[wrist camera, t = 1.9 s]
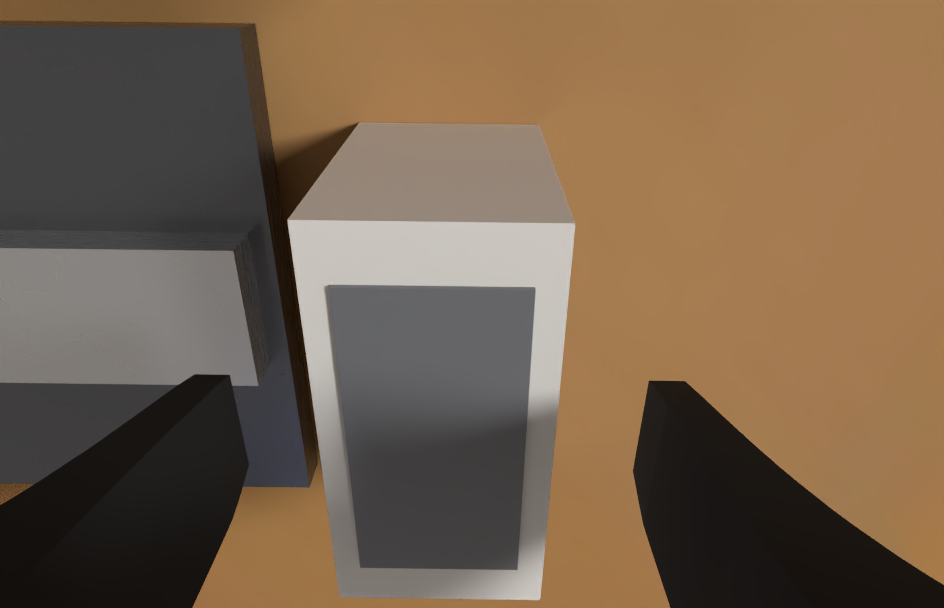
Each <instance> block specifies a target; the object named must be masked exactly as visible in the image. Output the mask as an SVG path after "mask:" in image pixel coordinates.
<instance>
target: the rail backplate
mask: <svg viewBox="0 0 944 608" xmlns="http://www.w3.org/2000/svg"><path fill="white" fill-rule="evenodd" d="M194 374H210V375H230V378H231V383H232V387H233V392H234V397H235V401H236V406H237V411H238V415H239V420H240V425H241V429H242V434H243V439H244V443H245V448H246V453H247V457H248V462H249V467H248V470H247V474H246V477H245V481H244V484H243V486H249V487H310V485H311V482H312V479H313V475H314V472H315V469H316V466H317V463H318V462H317V455H316V448H315V441H314V434H313V427H312V420H311V413H310V406H309V399H308V392H307V385H306V378H305V371H304V364H303V357H302V350H301V343H300V336H299V329H298V322H297V315H296V308H295V301H294V294H293V287H292V280H291V273H290V266H289V259H288V252H287V245H286V238H285V230H284V223H283V216H282V209H281V202H280V195H279V188H278V181H277V174H276V167H275V160H274V153H273V146H272V139H271V132H270V125H269V118H268V111H267V104H266V97H265V90H264V83H263V76H262V69H261V62H260V55H259V48H258V41H257V34H256V27H255V24H242V23H152V22H61V21H0V483H25V484H36V483H37V482H39V481H40V480H42V479H43V478H45V477H46V476H48V475H49V474H51V473H52V472H54V471H55V470H57V469H58V468H60V467H62V466H63V465H65V464H66V463H68V462H69V461H71V460H72V459H74V458H75V457H77V456H78V455H80V454H81V453H83V452H84V451H86V450H87V449H89V448H90V447H92V446H93V445H95V444H96V443H97V442H99V441H100V440H102V439H103V438H104V437H106V436H107V435H109V434H110V433H112V432H113V431H114V430H116V429H117V428H119V427H120V426H121V425H123V424H124V423H126V422H127V421H128V420H130V419H131V418H133V417H134V416H135V415H137V414H138V413H140V412H141V411H142V410H144V409H145V408H147V407H148V406H149V405H151V404H152V403H153V402H155V401H156V400H158V399H159V398H160V397H162V396H163V395H165V394H166V393H167V392H169V391H170V390H172V389H173V388H175V387H176V386H177V385H179V384H180V383H182V382H183V381H185V380H186V379H188V378H190V377H191V376H193V375H194Z"/></svg>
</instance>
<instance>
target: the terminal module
mask: <svg viewBox="0 0 944 608" xmlns="http://www.w3.org/2000/svg"><path fill="white" fill-rule="evenodd" d="M287 221H288V228H289V236H290V243H291V250H292V257H293V264H294V272H295V279H296V286H297V293H298V300H299V308H300V315H301V322H302V329H303V336H304V344H305V351H306V358H307V365H308V372H309V380H310V387H311V394H312V401H313V408H314V415H315V423H316V430H317V437H318V444H319V451H320V459H321V466H322V473H323V480H324V487H325V495H326V502H327V509H328V516H329V523H330V531H331V538H332V545H333V552H334V559H335V567H336V574H337V581H338V588H339V595H340V597H366V598H435V599H504V600H540V595H541V585H542V574H543V563H544V553H545V542H546V531H547V520H548V510H549V499H550V488H551V478H552V467H553V456H554V446H555V435H556V424H557V413H558V403H559V392H560V381H561V371H562V360H563V349H564V339H565V328H566V317H567V306H568V296H569V285H570V274H571V264H572V253H573V242H574V232H575V221H574V219H573V216H572V213H571V210H570V208H569V205H568V202H567V200H566V197H565V194H564V191H563V189H562V186H561V183H560V180H559V178H558V175H557V172H556V170H555V167H554V164H553V161H552V159H551V156H550V153H549V151H548V148H547V145H546V142H545V140H544V137H543V134H542V131H541V129H540V126H539V125H530V124H444V123H358V125H357V126H356V128H355V129H354V130H353V132H352V133H351V134H350V136H349V137H348V138H347V140H346V141H345V142H344V144H343V145H342V147H341V148H340V149H339V151H338V152H337V153H336V155H335V156H334V157H333V159H332V160H331V161H330V163H329V164H328V165H327V167H326V168H325V170H324V171H323V172H322V174H321V175H320V176H319V178H318V179H317V180H316V182H315V183H314V184H313V186H312V187H311V188H310V190H309V191H308V193H307V194H306V195H305V197H304V198H303V199H302V201H301V202H300V203H299V205H298V206H297V207H296V209H295V210H294V212H293V213H292V214H291V216H290V217H289V218H288V220H287Z"/></svg>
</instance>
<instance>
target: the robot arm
mask: <svg viewBox="0 0 944 608" xmlns="http://www.w3.org/2000/svg"><path fill="white" fill-rule="evenodd" d="M248 467H249V462H248V457H247V453H246V448H245V443H244V439H243V434H242V429H241V425H240V420H239V415H238V411H237V406H236V401H235V397H234V392H233V387H232V383H231V378H230V375H210V374H194V375H193V376H191V377H190V378H188V379H186V380H185V381H183V382H182V383H180V384H179V385H177V386H176V387H175V388H173V389H172V390H170V391H169V392H167V393H166V394H165V395H163V396H162V397H160V398H159V399H158V400H156V401H155V402H153V403H152V404H151V405H149V406H148V407H147V408H145V409H144V410H142V411H141V412H140V413H138V414H137V415H135V416H134V417H133V418H131V419H130V420H128V421H127V422H126V423H124V424H123V425H121V426H120V427H119V428H117V429H116V430H114V431H113V432H112V433H110V434H109V435H107V436H106V437H104V438H103V439H102V440H100V441H99V442H97V443H96V444H95V445H93V446H92V447H90V448H89V449H87V450H86V451H84V452H83V453H81V454H80V455H78V456H77V457H75V458H74V459H72V460H71V461H69V462H68V463H66V464H65V465H63V466H62V467H60V468H58V469H57V470H55V471H54V472H52V473H51V474H49V475H48V476H46V477H45V478H43V479H42V480H40V481H39V482H37V483H36V484H34V485H33V486H31V487H30V488H28V489H26V490H25V491H23V492H22V493H20V494H18V495H17V496H15V497H13V498H12V499H10V500H8V501H7V502H5V503H3V504H2V505H0V608H192V607H193V605H194V603H195V600H196V598H197V596H198V594H199V592H200V590H201V587H202V585H203V583H204V581H205V579H206V577H207V574H208V572H209V570H210V568H211V566H212V564H213V561H214V559H215V557H216V555H217V553H218V550H219V548H220V546H221V544H222V542H223V539H224V537H225V535H226V533H227V530H228V528H229V526H230V524H231V521H232V519H233V516H234V513H235V510H236V507H237V504H238V501H239V498H240V494H241V491H242V488H243V484H244V481H245V477H246V474H247V470H248ZM633 473H634V478H635V484H636V489H637V495H638V500H639V505H640V510H641V515H642V520H643V525H644V528H645V531H646V534H647V537H648V540H649V544H650V547H651V550H652V553H653V556H654V559H655V562H656V565H657V568H658V571H659V574H660V577H661V580H662V583H663V586H664V589H665V592H666V595H667V598H668V601H669V604H670V607H671V608H944V585H943V584H941V583H939V582H938V581H936V580H934V579H933V578H931V577H929V576H928V575H926V574H925V573H923V572H922V571H920V570H918V569H917V568H915V567H914V566H912V565H911V564H909V563H908V562H906V561H905V560H903V559H901V558H900V557H898V556H897V555H895V554H894V553H893V552H891V551H890V550H888V549H887V548H885V547H884V546H882V545H881V544H880V543H878V542H877V541H875V540H874V539H872V538H871V537H870V536H868V535H867V534H865V533H864V532H862V531H861V530H859V529H858V528H857V527H855V526H854V525H852V524H851V523H850V522H848V521H847V520H846V519H844V518H843V517H841V516H840V515H839V514H837V513H836V512H835V511H833V510H832V509H831V508H829V507H828V506H827V505H826V504H824V503H823V502H822V501H821V500H819V499H818V498H817V497H816V496H814V495H813V494H812V493H811V492H809V491H808V490H807V489H806V488H804V487H803V486H802V485H801V484H799V483H798V482H797V481H796V480H794V479H793V478H792V477H791V476H790V475H788V474H787V473H786V472H785V471H784V470H782V469H781V468H780V467H779V466H778V465H776V464H775V463H774V462H773V461H772V460H771V459H770V458H768V457H767V456H766V455H765V454H764V453H763V452H762V451H760V450H759V449H758V448H757V447H756V446H755V445H754V444H753V443H751V442H750V441H749V440H748V439H747V438H746V437H745V436H744V435H743V434H742V433H740V432H739V431H738V430H737V429H736V428H735V427H734V426H733V425H732V424H731V423H730V422H729V421H727V420H726V419H725V418H724V417H723V416H722V415H721V414H720V413H719V412H718V411H717V410H716V409H715V408H714V407H712V406H711V405H710V404H709V403H708V402H707V401H706V400H705V399H704V398H703V397H702V396H701V395H700V394H699V393H697V392H696V391H695V390H694V389H693V388H692V387H691V386H690V385H689V384H687V383H686V382H685V381H649V384H648V389H647V395H646V401H645V406H644V412H643V418H642V423H641V429H640V435H639V440H638V446H637V451H636V457H635V463H634V468H633Z"/></svg>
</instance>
